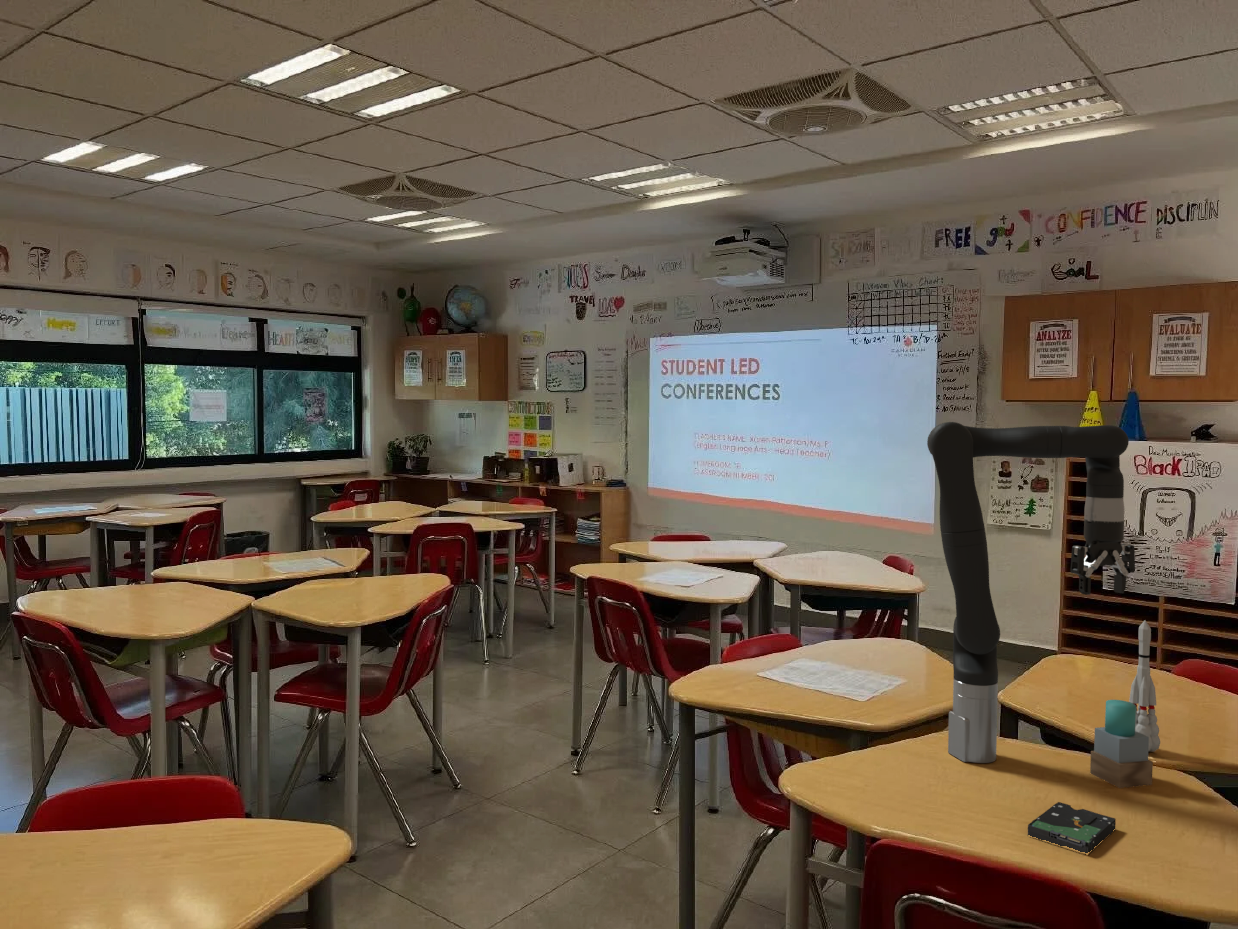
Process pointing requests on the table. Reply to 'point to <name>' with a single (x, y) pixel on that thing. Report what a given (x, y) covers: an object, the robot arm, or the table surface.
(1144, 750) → the middle block
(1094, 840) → the disk drive
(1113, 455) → the robot arm
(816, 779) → the table surface
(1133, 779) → the base block
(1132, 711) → the teal upright cylinder
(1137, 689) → the rocket model
